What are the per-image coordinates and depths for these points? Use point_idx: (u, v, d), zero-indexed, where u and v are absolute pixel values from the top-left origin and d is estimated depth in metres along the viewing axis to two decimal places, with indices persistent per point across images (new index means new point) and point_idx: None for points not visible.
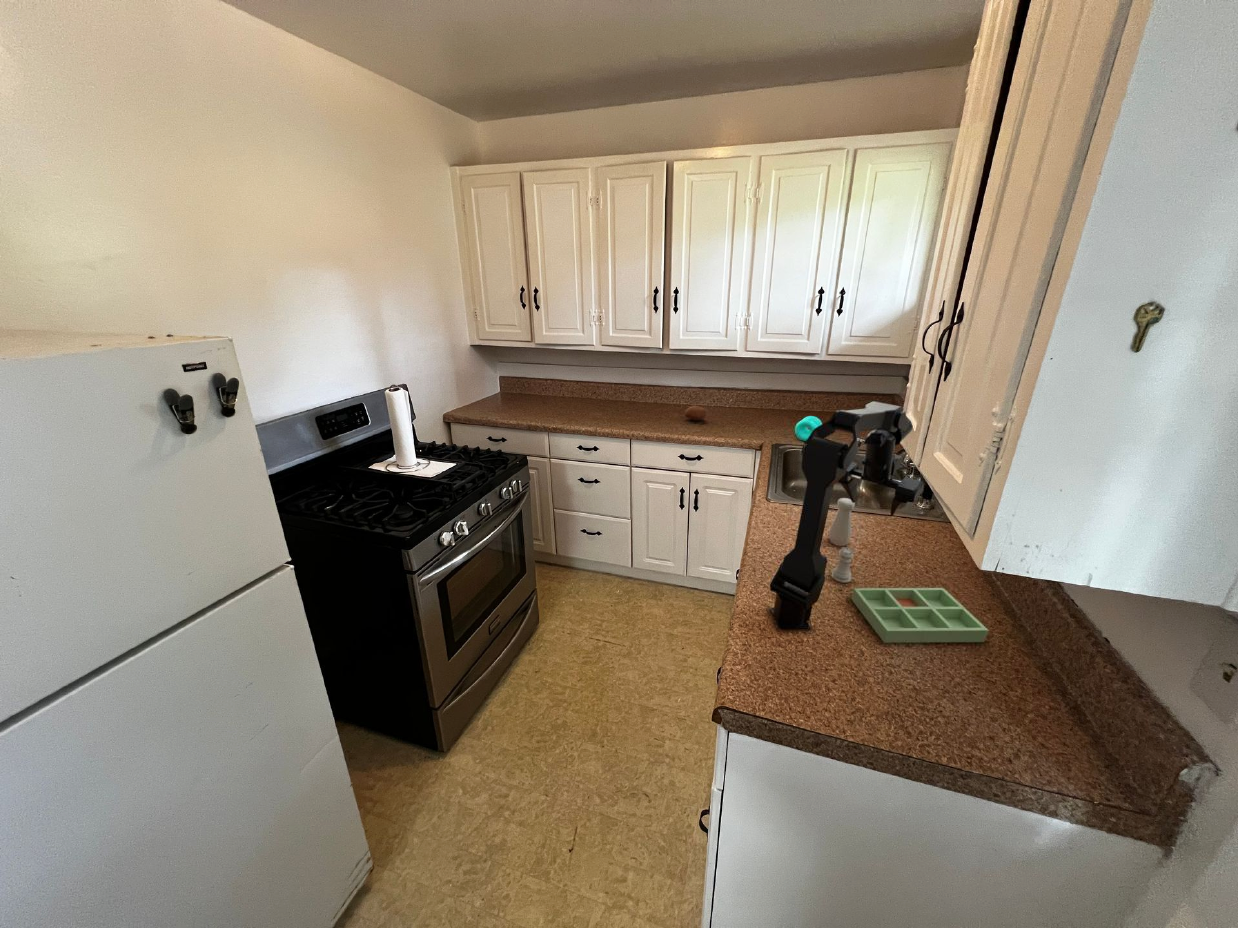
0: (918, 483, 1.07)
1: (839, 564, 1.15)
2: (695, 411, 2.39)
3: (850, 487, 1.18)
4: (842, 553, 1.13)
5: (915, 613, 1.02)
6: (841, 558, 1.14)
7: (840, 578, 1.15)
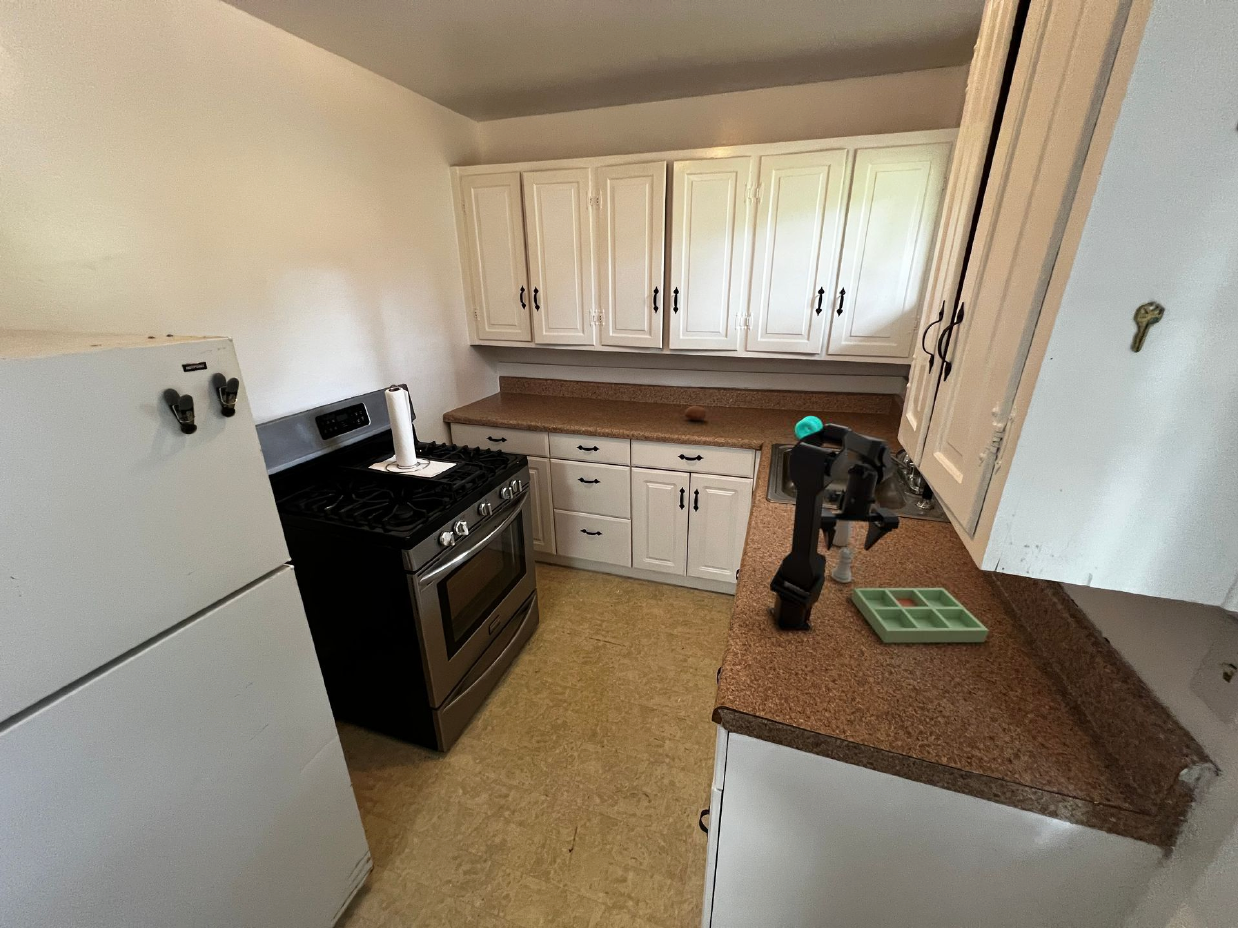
0: (889, 510, 1.11)
1: (839, 564, 1.15)
2: (695, 411, 2.39)
3: None
4: (842, 553, 1.13)
5: (915, 613, 1.02)
6: (841, 558, 1.14)
7: (840, 578, 1.15)
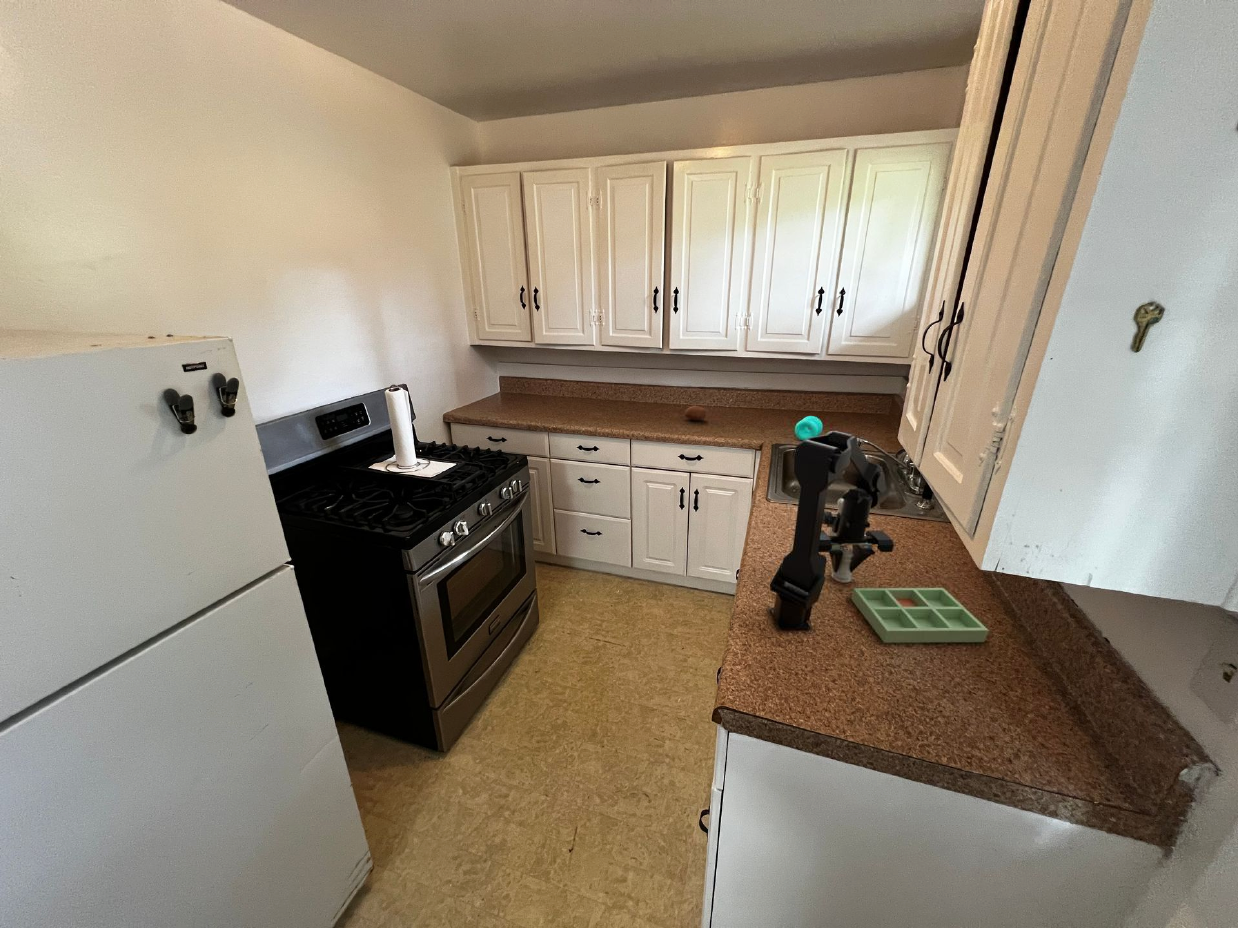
0: None
1: None
2: (695, 411, 2.39)
3: None
4: None
5: (915, 613, 1.02)
6: None
7: (840, 578, 1.15)
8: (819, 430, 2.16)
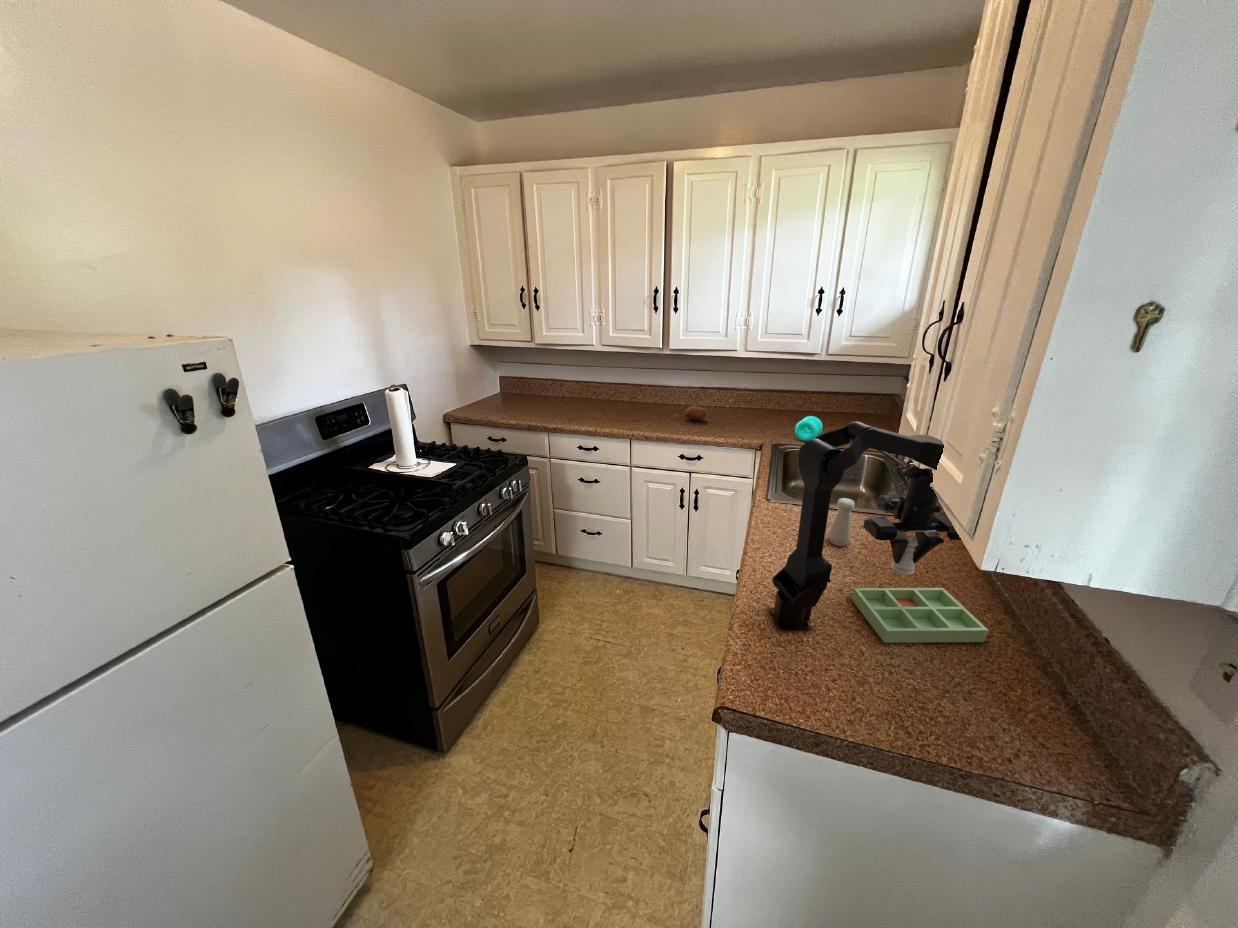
0: None
1: None
2: (695, 411, 2.39)
3: None
4: None
5: (915, 613, 1.02)
6: None
7: (902, 570, 1.03)
8: (819, 430, 2.16)
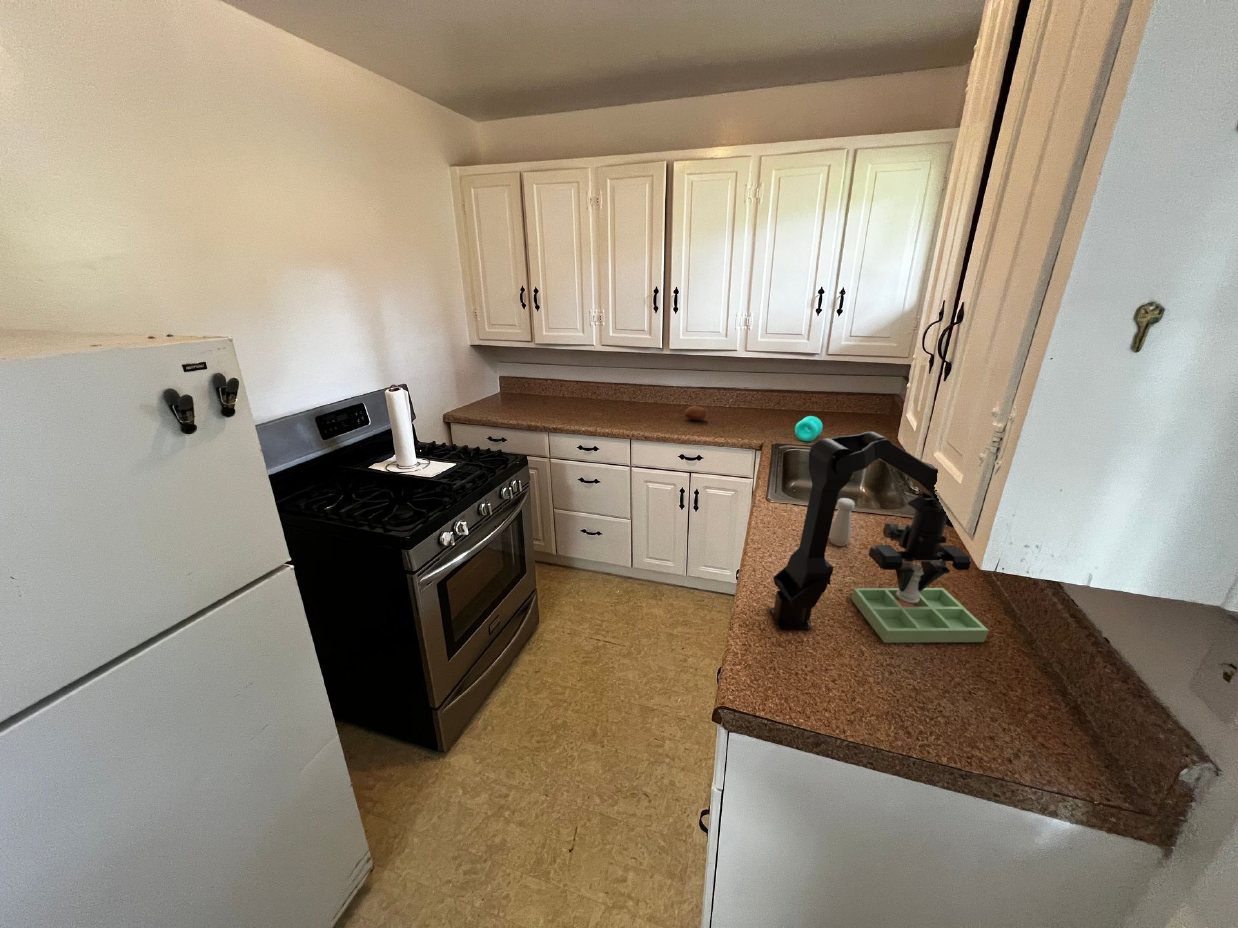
0: (958, 548, 1.02)
1: None
2: (695, 411, 2.39)
3: None
4: None
5: (915, 613, 1.02)
6: None
7: (908, 598, 1.03)
8: (819, 430, 2.16)
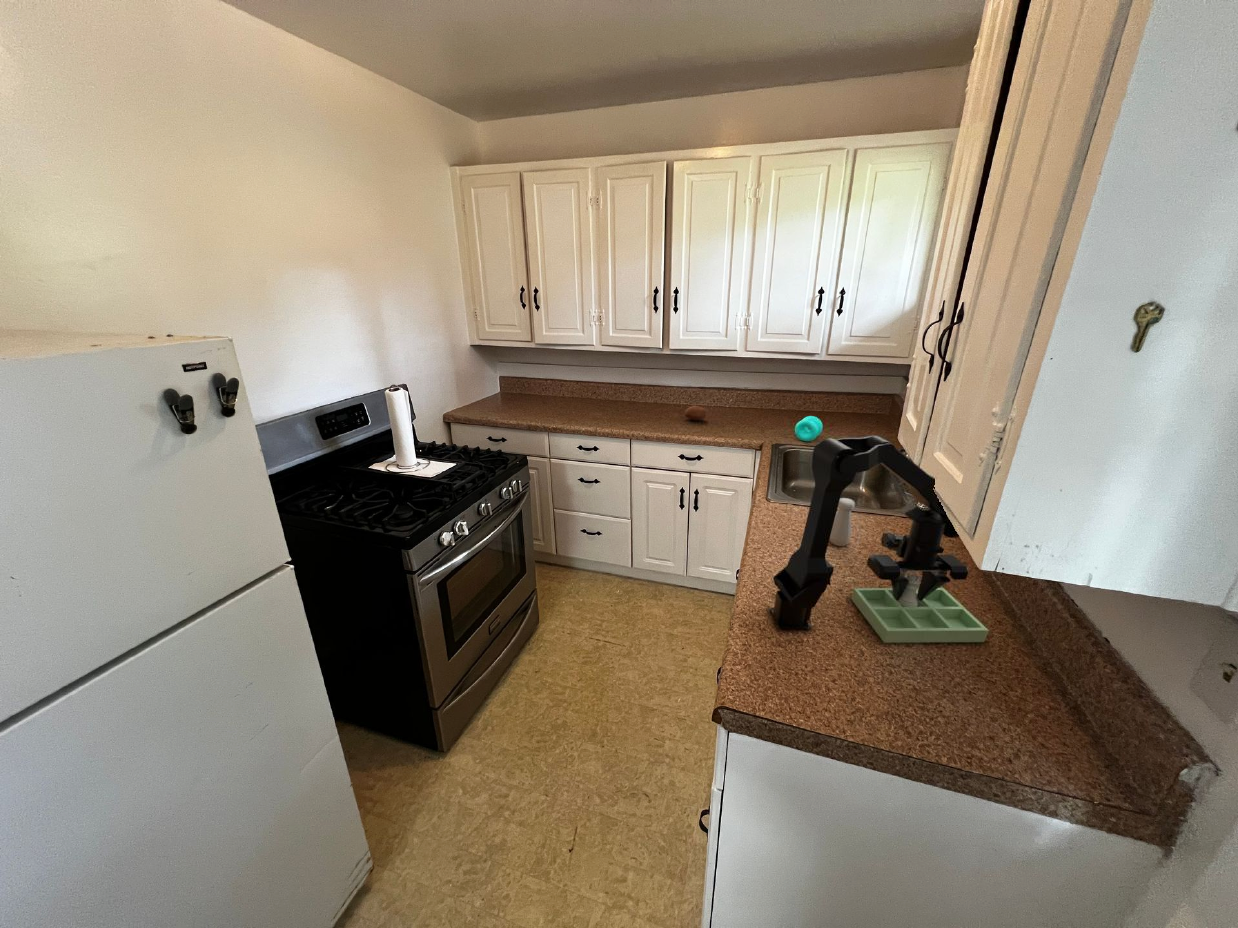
0: (955, 557, 1.02)
1: (904, 591, 1.04)
2: (695, 411, 2.39)
3: None
4: (908, 579, 1.02)
5: (915, 613, 1.02)
6: (907, 585, 1.03)
7: None
8: (819, 430, 2.16)
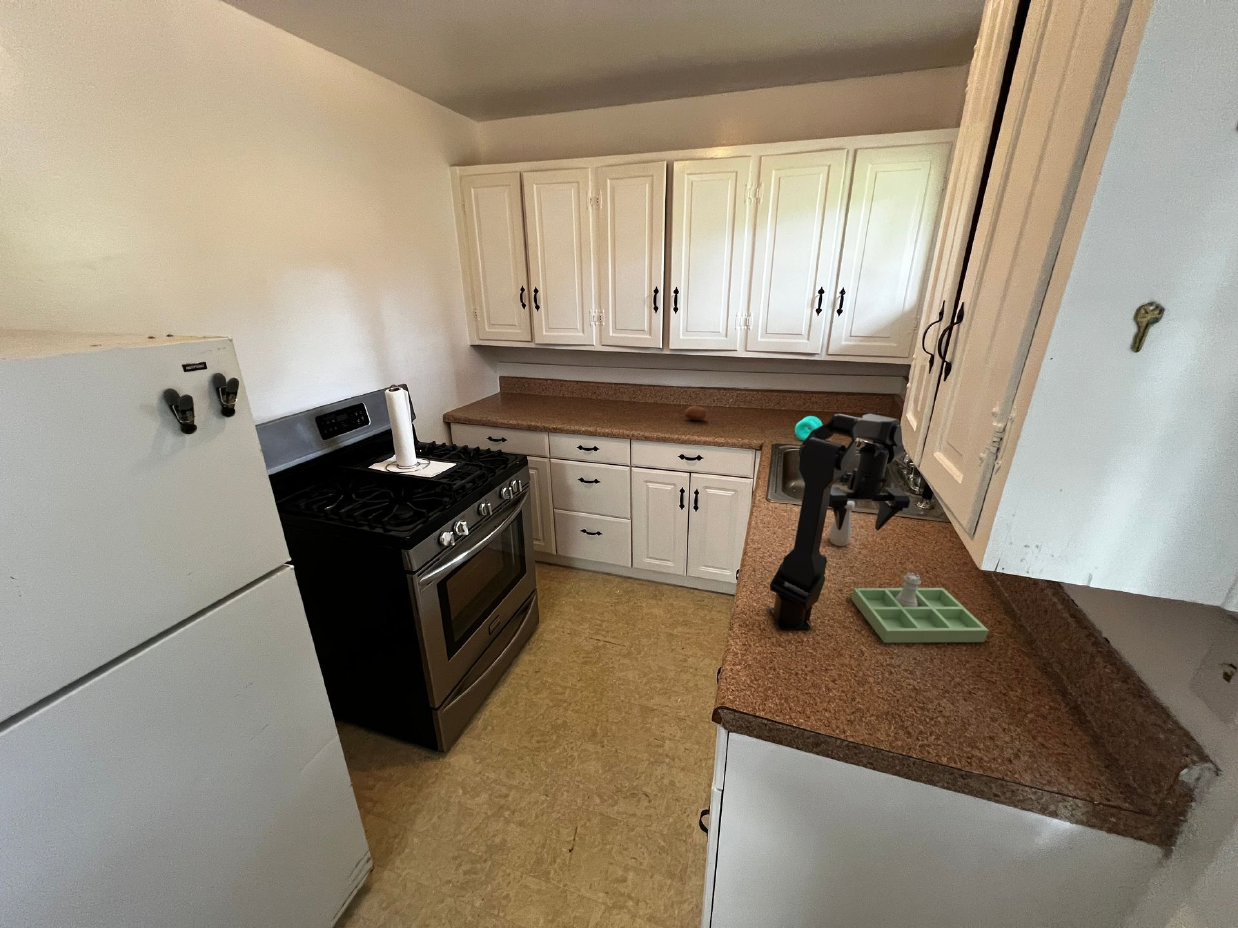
0: (900, 489, 1.12)
1: (904, 591, 1.04)
2: (695, 411, 2.39)
3: None
4: (908, 579, 1.02)
5: (915, 613, 1.02)
6: (907, 585, 1.03)
7: None
8: None
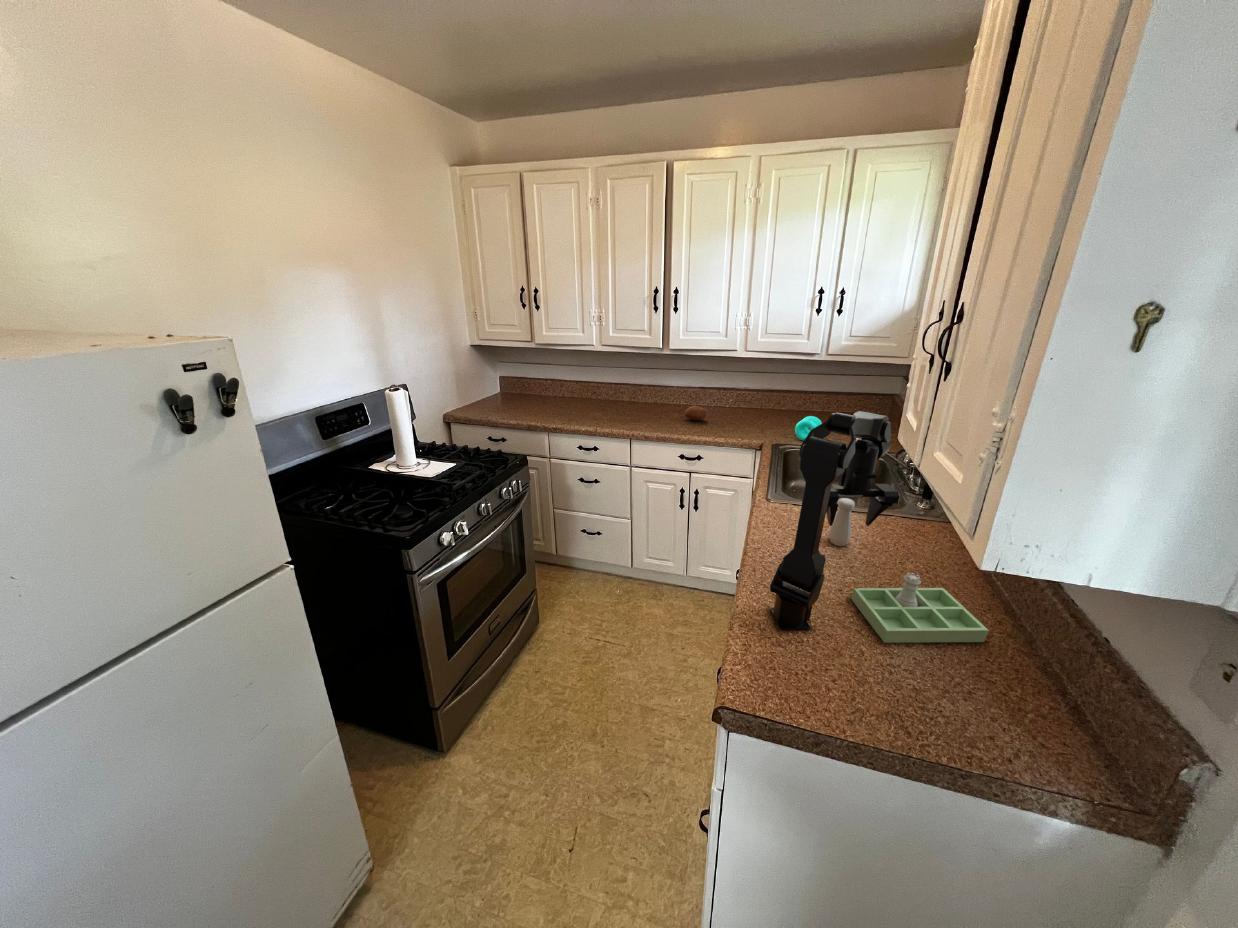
0: None
1: (904, 591, 1.04)
2: (695, 411, 2.39)
3: None
4: (908, 579, 1.02)
5: (915, 613, 1.02)
6: (907, 585, 1.03)
7: None
8: None
